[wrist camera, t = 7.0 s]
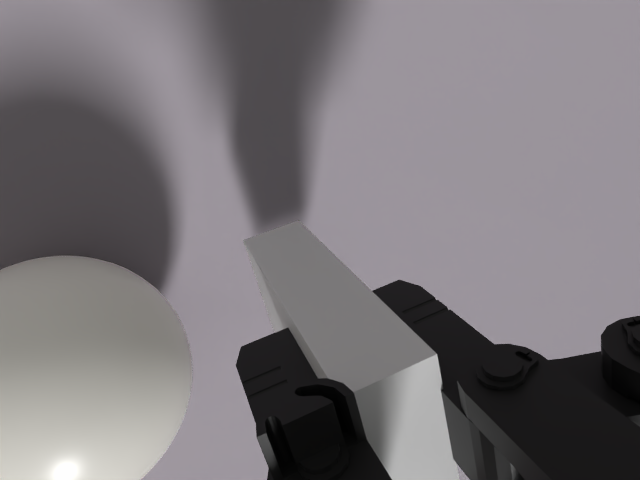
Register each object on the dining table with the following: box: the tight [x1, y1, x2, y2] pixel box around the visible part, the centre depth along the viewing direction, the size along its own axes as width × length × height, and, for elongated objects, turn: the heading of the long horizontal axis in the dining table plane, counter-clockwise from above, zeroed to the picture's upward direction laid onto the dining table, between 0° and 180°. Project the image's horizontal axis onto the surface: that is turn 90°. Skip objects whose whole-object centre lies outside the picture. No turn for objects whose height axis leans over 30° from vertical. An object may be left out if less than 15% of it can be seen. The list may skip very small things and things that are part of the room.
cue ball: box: [0, 256, 193, 480], centre depth 11 cm, size 6×6×6 cm
